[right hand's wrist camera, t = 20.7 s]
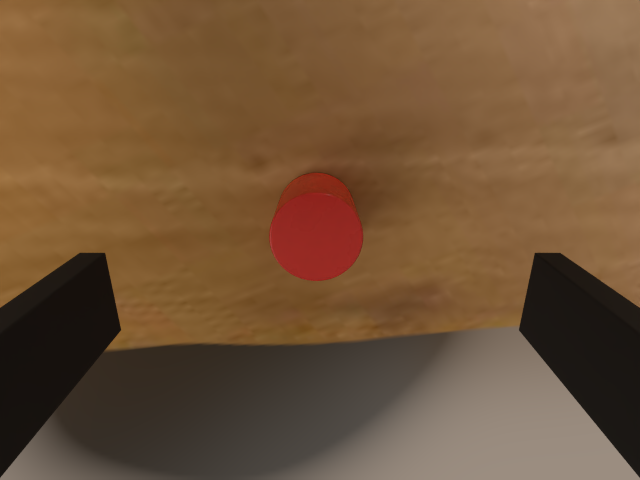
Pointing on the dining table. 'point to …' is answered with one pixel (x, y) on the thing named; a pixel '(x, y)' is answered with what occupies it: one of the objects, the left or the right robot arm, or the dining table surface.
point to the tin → (316, 228)
